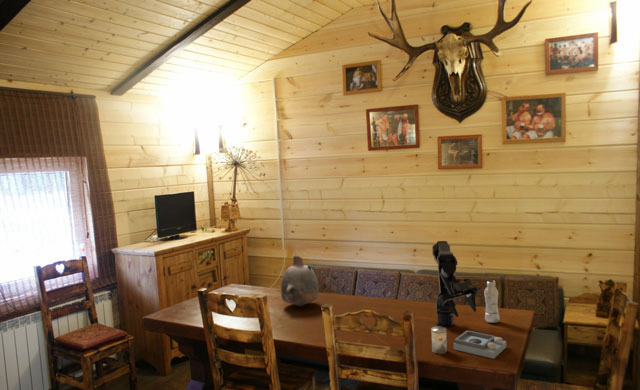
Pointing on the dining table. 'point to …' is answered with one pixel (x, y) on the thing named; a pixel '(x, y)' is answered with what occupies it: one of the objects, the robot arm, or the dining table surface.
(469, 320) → the dining table surface
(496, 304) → the plastic bottle
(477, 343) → the square tray with knobs
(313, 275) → the jug
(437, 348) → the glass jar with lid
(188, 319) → the dining table surface
